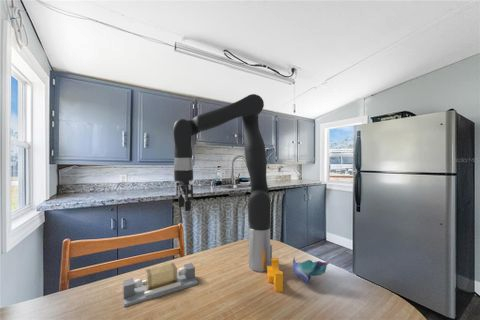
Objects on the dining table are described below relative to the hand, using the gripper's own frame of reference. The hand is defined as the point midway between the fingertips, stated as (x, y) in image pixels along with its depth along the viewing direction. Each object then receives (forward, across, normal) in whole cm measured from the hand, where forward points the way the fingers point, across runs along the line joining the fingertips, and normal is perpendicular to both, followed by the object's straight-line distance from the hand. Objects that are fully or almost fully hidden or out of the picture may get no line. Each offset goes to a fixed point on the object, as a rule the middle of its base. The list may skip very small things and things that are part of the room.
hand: (184, 208), depth 85 cm
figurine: (+28, +31, +38) cm, 56 cm away
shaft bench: (+26, +4, -10) cm, 29 cm away
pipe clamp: (+28, +24, +27) cm, 45 cm away
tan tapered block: (+25, +4, -10) cm, 28 cm away
